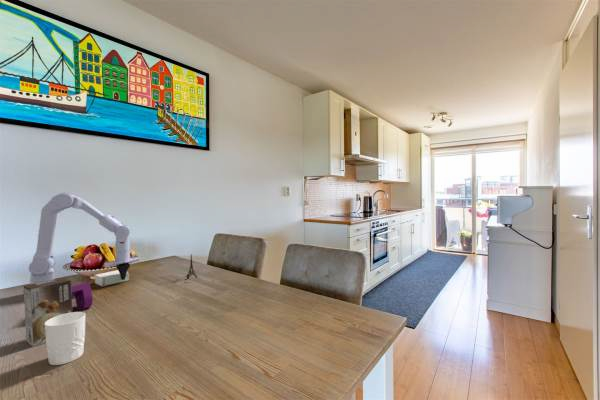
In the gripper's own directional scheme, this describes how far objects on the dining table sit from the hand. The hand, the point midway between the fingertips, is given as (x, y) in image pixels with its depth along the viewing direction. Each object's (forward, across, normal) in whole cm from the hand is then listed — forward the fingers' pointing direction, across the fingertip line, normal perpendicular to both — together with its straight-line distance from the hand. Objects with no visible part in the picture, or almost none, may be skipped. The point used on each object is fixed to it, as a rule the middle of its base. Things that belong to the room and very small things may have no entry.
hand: (123, 279), depth 128 cm
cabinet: (+2, -2, +7) cm, 8 cm away
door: (+2, -2, +2) cm, 3 cm away
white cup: (+2, -36, -53) cm, 64 cm away
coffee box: (+2, -35, -36) cm, 50 cm away
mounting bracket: (+2, -25, -14) cm, 29 cm away
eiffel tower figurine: (+2, +22, -20) cm, 30 cm away
